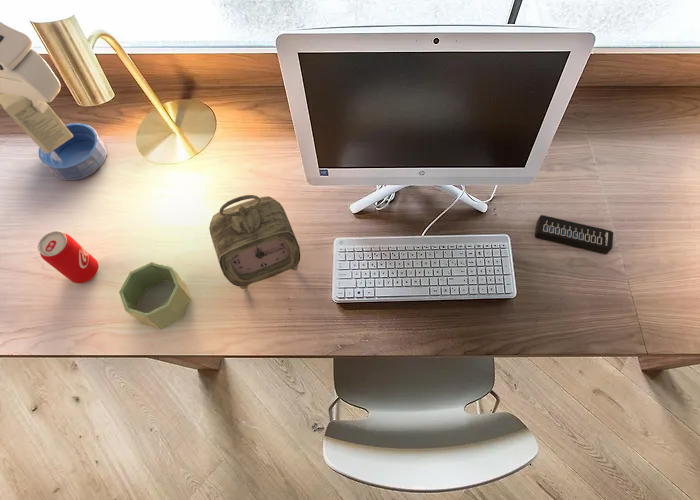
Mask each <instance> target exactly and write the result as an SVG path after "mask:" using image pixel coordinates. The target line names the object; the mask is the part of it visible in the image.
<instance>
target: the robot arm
mask: <svg viewBox="0 0 700 500" xmlns="http://www.w3.org/2000/svg"><path fill="white" fill-rule="evenodd" d="M33 46H34V42H33V41H32V39H31V38H30V37H29V35H27V34H25V33H24V32H21V31H19V30H17V29H15V28H12V27H10V26H8V25H6V24H4V23H3V22H1V21H0V94H1V93H2V92H3V93H8V94H12V95H17V96H21V97H26V98H28V99H29V100H32V103H31V105H30V106H31V107H32V108H33V109H34V111H36V112H40V113H44V112H45V111H46V110H47V105H46V103H52V102H53V100H54V99H55V98H56V97H57V96H58V94H59V93H60V91H61V88H62V85H61V82H60V80H59V79H58V77H57V76H56V75H55V73H54V71H53V70H52V69H51V66H49V64H48V63H47V62H46V61H45V59H44V58H43V57H42V55H40V54H39V53H38V52H37V51H35V50H33V49H32V48H33ZM45 102H46V103H45Z"/></svg>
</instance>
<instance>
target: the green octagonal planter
mask: <svg viewBox="0 0 700 500" xmlns="http://www.w3.org/2000/svg"><path fill="white" fill-rule="evenodd" d="M164 281H166V282H169V283H174V285H175V286H174V289H173V291H172V292H171V295H170V297H169V299H168V301H167V302H166V304H164V305H162V306H159V307H158V308H155V309H153V310H151V311H149V312H147V313H146V312H143V311H141V310H140V308H139V304H140V302H141V300H142V299H143V297H144V295H145V293H146V291H147V289H149V288H151V287H153V286H156V285H158V284H160V283H162V282H164ZM118 293H119V297H120V300H121V302H122V305H123V308H124V310H125V312H126V313H127V314H128V315H130V316H131V317H132V318H134V319H135V320H136V321H137V322H138V323H139V324H141V325H143V326H147V327H150V328H154V329H158V330H163V329H165V328H168V327H169V326H171V325H173V324H175V323H177V322H179V321H181V320H183V317H184V316H185V313H186V312H187V310H188V307H189V305H190V303H191V300H192V298H191V296H190V293H189V291H188V289H187V286H186V284H185V282H184V280H183V279H182V278H181V277H180V275H179V274H178V273H177V272H176V271H175V269H174V268H173V267H172V266H169V265H164V264H161V263H156V262H153V261H151V262H149V263H147V264H144V265H142V266H140V267H138V268H135V269H133V270H131V271H130V272H129V273H128V275H127V277H126V278H125V280H124V281H123V284H122V286H121V288H120V289H119V291H118Z"/></svg>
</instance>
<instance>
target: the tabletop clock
mask: <svg viewBox="0 0 700 500" xmlns="http://www.w3.org/2000/svg"><path fill="white" fill-rule="evenodd" d="M245 200H248V201H245ZM241 201H244V202H242V203H241ZM239 202H240V203H239ZM237 203H238V204H237ZM234 204H236V205H234ZM232 205H233V206H232ZM208 227H209V228H208V229H209V235H210V238H211V241H212V244H213V248H214V251H215V254H216V257H217V261H218V264H219V267H220V270H221V272H222V274H223V276H224V277H225V278H226V279H227V281H228V282H229V283H230V284H231V285H233V286H235V287H239V288H240V289H242V290H246V289H247V288H248V286H249V285H251V284H255V283H258V282H261V281H264V280H267V279H270V278H272V277H274V276H277V275H279V274H282V273H284V272H287V271H289V270H291V271H296V270H298V268H299V263H300V261H301V247H300V244H299V242H298V240H297V238H296V235H295V233H294V230H293V228H292V226H291V223H290V220H289V218H288V215H287V212H286V211H285V208H284V207H283V205H282V204H281V202H279V201H277V200H276V199H274V198H273V197H272V196H270V195H268V196H258V195H255V194H246V195H245V194H244V195H241V196H238V197H235V198H232V199H230V200H228V201H226V202H225V203H223V204H222V206H221V207H220V208H219V211H218V212H216V213H215V214H214V215H212V217H211V219H210V223H209V226H208Z"/></svg>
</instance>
